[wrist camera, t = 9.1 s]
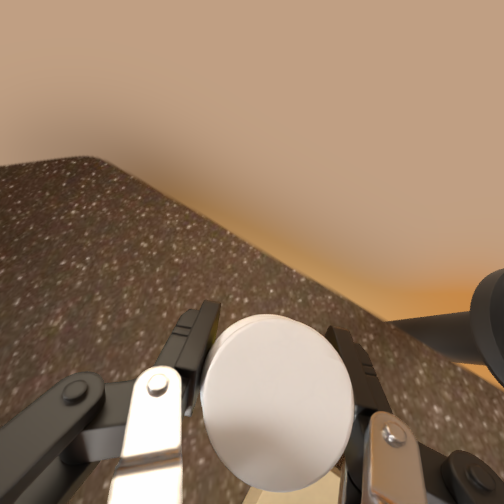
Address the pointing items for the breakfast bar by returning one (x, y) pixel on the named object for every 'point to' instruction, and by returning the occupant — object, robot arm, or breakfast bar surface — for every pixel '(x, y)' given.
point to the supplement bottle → (276, 402)
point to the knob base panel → (301, 493)
